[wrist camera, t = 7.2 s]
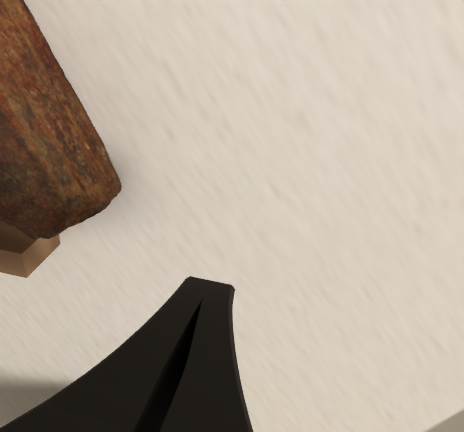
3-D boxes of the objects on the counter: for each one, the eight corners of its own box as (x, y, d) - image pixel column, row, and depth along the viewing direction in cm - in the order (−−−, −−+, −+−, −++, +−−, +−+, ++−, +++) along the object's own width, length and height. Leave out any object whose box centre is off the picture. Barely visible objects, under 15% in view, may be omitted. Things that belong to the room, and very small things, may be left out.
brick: (-69, -12, 16) (-194, -11, 12) (-2, -57, 15) (-118, -72, 11) (70, 203, 20) (11, 255, 17) (131, 184, 19) (84, 235, 15)
